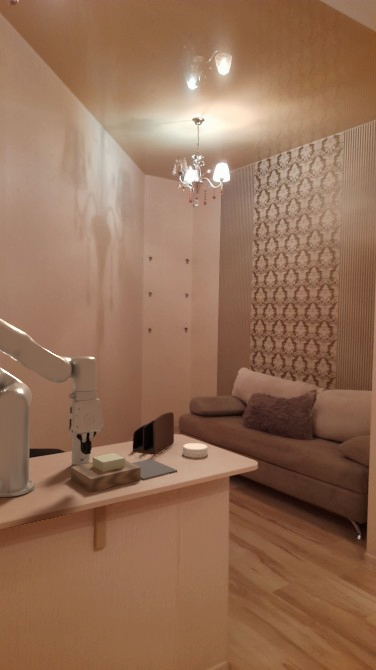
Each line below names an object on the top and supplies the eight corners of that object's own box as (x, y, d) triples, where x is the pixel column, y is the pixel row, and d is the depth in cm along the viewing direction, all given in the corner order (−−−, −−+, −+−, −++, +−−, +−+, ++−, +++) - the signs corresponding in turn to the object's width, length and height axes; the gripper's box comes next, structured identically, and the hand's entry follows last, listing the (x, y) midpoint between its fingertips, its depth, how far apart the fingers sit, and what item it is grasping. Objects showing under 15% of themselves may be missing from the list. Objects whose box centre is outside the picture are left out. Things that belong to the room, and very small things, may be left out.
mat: (143, 480, 145) (143, 478, 145) (118, 467, 157) (118, 465, 157) (177, 471, 154) (177, 470, 154) (150, 460, 166) (150, 458, 166)
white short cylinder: (178, 452, 177) (178, 444, 177) (199, 449, 182) (199, 441, 182) (190, 459, 168) (190, 450, 168) (212, 456, 173) (212, 447, 173)
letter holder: (174, 442, 192) (174, 410, 192) (154, 454, 174) (155, 419, 173) (153, 439, 196) (153, 408, 196) (132, 451, 177) (132, 416, 177)
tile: (102, 471, 140) (103, 462, 140) (92, 466, 146) (92, 457, 146) (124, 467, 146) (124, 458, 145) (113, 461, 151) (113, 452, 151)
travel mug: (85, 468, 155) (86, 412, 155) (68, 467, 157) (69, 410, 156) (93, 463, 161) (93, 408, 161) (76, 461, 163) (77, 407, 162)
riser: (90, 492, 134) (90, 479, 134) (70, 479, 145) (70, 466, 145) (140, 479, 146) (140, 467, 145) (118, 468, 156) (118, 457, 156)
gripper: (67, 400, 132) (69, 461, 132) (111, 394, 141) (112, 451, 142) (57, 397, 138) (58, 455, 138) (100, 391, 147) (101, 446, 148)
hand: (86, 453), depth 140 cm, fingers closed
